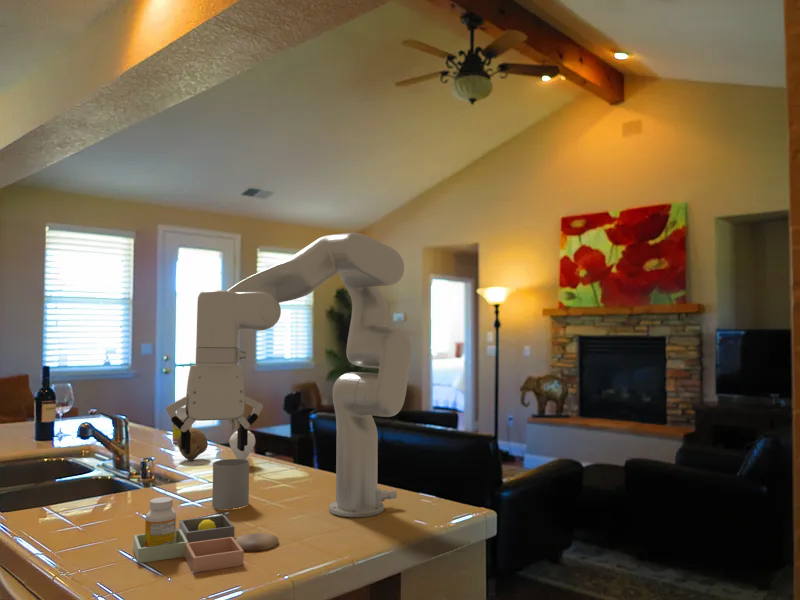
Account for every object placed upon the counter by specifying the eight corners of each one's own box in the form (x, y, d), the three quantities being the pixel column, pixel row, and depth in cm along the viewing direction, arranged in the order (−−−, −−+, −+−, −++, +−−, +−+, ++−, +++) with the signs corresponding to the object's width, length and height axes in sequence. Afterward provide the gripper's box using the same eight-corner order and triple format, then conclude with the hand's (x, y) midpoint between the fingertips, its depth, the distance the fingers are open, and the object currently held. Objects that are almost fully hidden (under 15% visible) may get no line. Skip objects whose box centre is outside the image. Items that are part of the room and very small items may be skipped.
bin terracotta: (232, 550, 124) (232, 536, 124) (243, 564, 117) (243, 550, 117) (185, 557, 120) (185, 543, 121) (193, 572, 113) (193, 558, 113)
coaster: (271, 534, 134) (271, 531, 134) (284, 547, 126) (284, 544, 126) (226, 540, 130) (226, 537, 130) (236, 554, 122) (236, 551, 122)
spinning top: (260, 464, 201) (260, 425, 201) (241, 469, 195) (242, 428, 195) (242, 461, 205) (242, 423, 206) (223, 466, 199) (224, 426, 199)
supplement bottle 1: (149, 547, 125) (150, 496, 126) (178, 547, 126) (179, 495, 126) (140, 557, 120) (142, 503, 120) (171, 557, 121) (172, 503, 121)
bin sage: (180, 542, 129) (180, 529, 129) (188, 555, 121) (188, 542, 121) (133, 548, 125) (133, 535, 125) (137, 563, 117) (138, 548, 117)
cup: (238, 511, 151) (239, 467, 151) (205, 509, 152) (206, 465, 153) (254, 501, 159) (254, 459, 159) (222, 499, 161) (223, 458, 161)
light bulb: (205, 540, 130) (198, 523, 130) (195, 541, 135) (189, 525, 135) (220, 532, 132) (214, 515, 132) (210, 533, 137) (204, 517, 137)
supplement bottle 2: (177, 440, 243) (178, 405, 243) (194, 441, 242) (195, 405, 242) (169, 443, 236) (169, 407, 236) (187, 444, 235) (187, 408, 236)
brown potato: (198, 455, 214) (199, 425, 215) (212, 459, 208) (213, 428, 208) (172, 459, 208) (172, 428, 208) (186, 464, 201) (186, 431, 202)
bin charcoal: (224, 526, 139) (224, 514, 139) (234, 539, 131) (234, 526, 131) (179, 532, 135) (179, 520, 135) (186, 546, 127) (186, 532, 127)
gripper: (259, 356, 128) (256, 445, 127) (165, 356, 121) (162, 451, 120) (268, 358, 122) (266, 452, 121) (169, 358, 114) (166, 458, 113)
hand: (214, 451), depth 120 cm, fingers open, 9 cm apart
